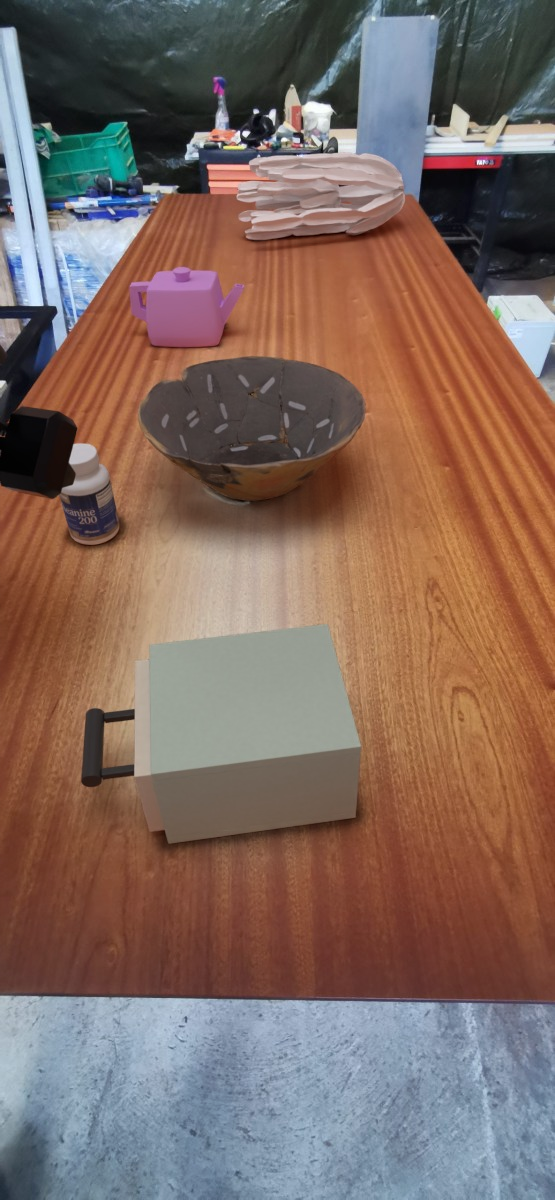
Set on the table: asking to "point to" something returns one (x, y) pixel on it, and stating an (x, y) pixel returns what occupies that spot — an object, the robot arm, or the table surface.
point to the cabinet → (251, 733)
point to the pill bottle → (89, 499)
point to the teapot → (183, 307)
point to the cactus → (320, 194)
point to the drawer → (142, 747)
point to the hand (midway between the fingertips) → (29, 471)
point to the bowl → (252, 422)
